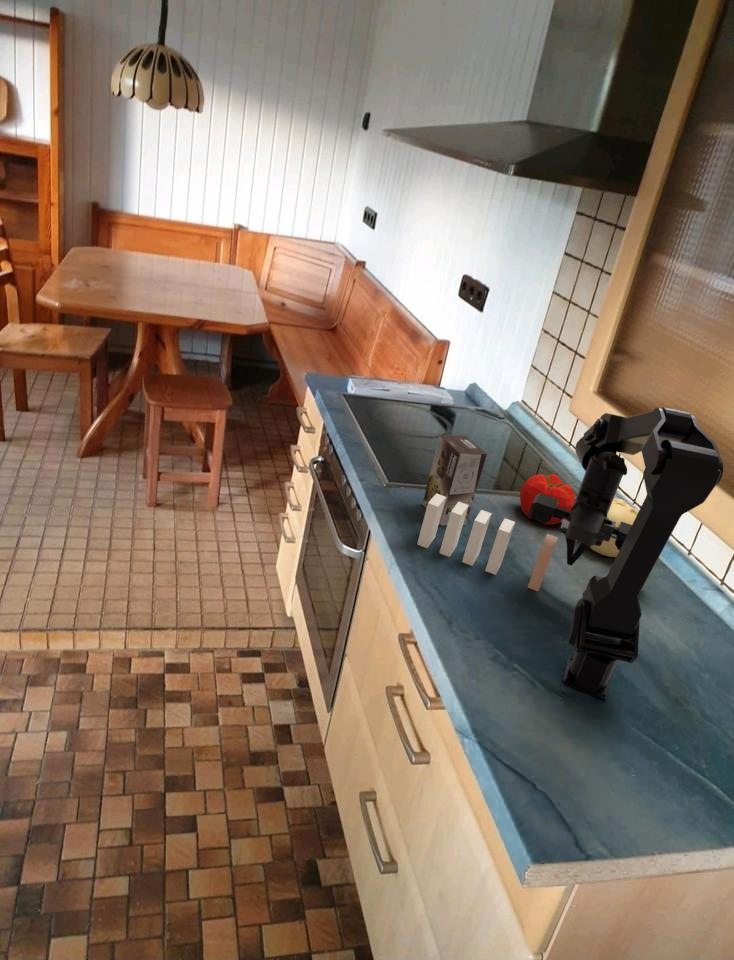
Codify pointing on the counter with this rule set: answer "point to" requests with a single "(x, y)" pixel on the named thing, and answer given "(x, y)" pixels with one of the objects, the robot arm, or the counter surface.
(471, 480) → the coffee box
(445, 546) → the domino
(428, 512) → the domino
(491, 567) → the domino
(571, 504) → the tomato
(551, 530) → the counter surface
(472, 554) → the domino
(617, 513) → the pale yellow round lump
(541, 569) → the domino
